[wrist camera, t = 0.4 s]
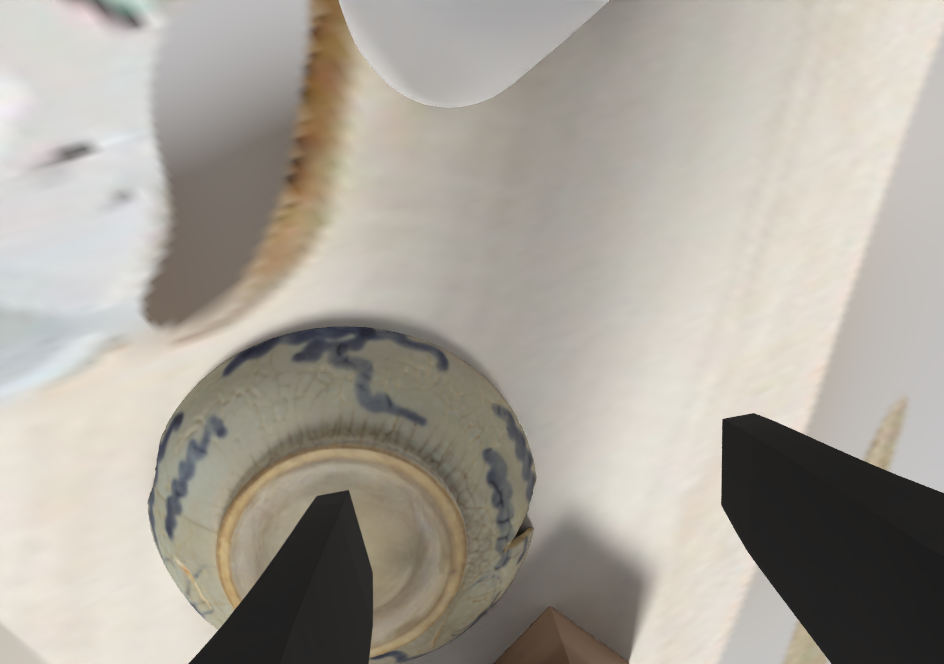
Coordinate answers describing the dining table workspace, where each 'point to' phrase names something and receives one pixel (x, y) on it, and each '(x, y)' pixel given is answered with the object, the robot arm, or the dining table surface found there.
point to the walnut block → (558, 644)
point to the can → (460, 43)
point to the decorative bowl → (348, 478)
